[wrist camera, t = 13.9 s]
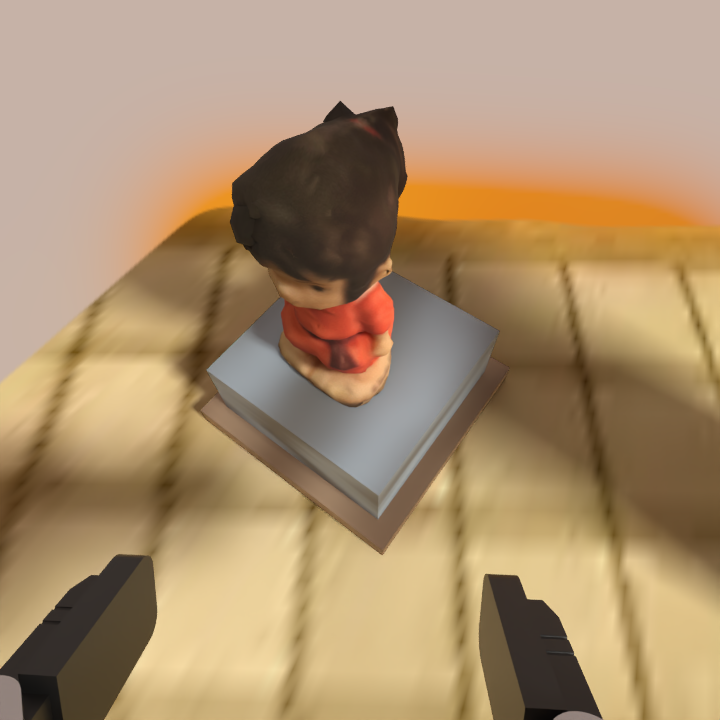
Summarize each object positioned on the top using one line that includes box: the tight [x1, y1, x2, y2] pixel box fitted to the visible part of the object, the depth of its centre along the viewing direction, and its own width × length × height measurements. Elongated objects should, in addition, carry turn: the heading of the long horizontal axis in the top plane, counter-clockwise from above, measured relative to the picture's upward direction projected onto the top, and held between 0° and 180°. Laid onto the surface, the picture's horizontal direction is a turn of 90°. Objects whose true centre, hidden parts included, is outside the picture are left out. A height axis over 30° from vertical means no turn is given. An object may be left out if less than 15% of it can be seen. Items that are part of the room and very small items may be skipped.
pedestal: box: [200, 271, 509, 555], centre depth 27 cm, size 12×12×5 cm
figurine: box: [230, 101, 407, 407], centre depth 20 cm, size 6×6×12 cm
